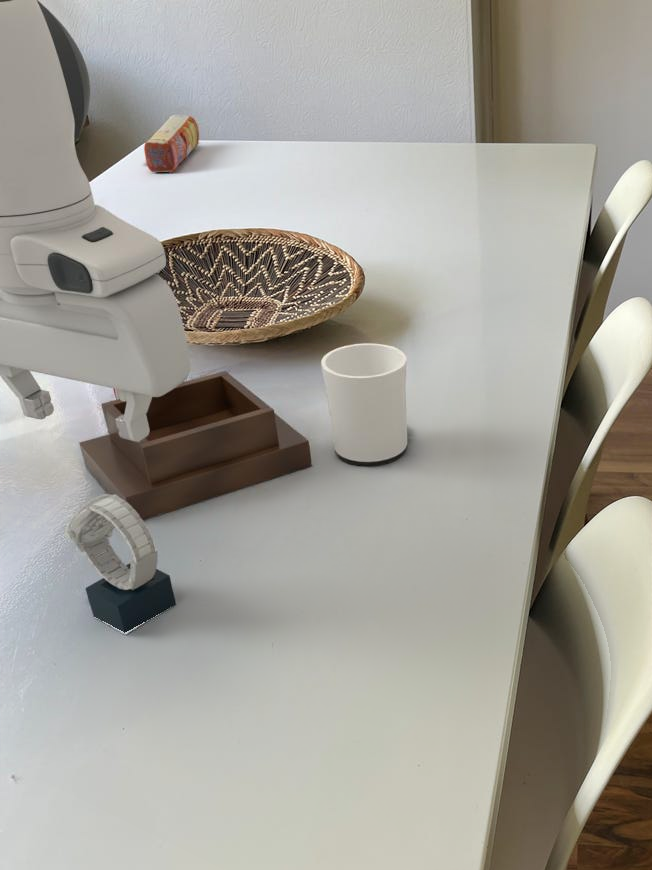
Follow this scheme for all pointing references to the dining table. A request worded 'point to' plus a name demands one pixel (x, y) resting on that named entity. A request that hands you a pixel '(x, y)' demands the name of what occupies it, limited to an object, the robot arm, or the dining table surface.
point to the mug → (367, 402)
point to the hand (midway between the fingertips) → (86, 426)
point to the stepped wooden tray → (194, 447)
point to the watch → (122, 584)
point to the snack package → (171, 143)
